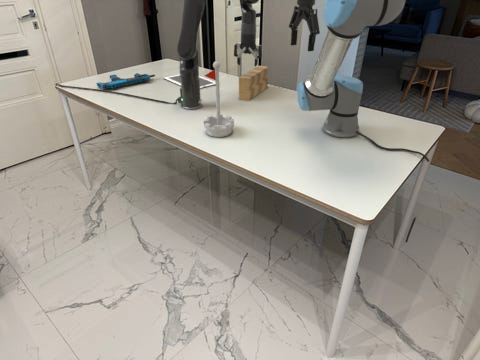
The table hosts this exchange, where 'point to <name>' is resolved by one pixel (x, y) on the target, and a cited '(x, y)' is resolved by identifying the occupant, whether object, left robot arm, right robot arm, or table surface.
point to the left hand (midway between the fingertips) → (247, 65)
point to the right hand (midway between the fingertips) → (301, 48)
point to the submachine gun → (124, 81)
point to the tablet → (203, 81)
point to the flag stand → (218, 111)
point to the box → (253, 82)
